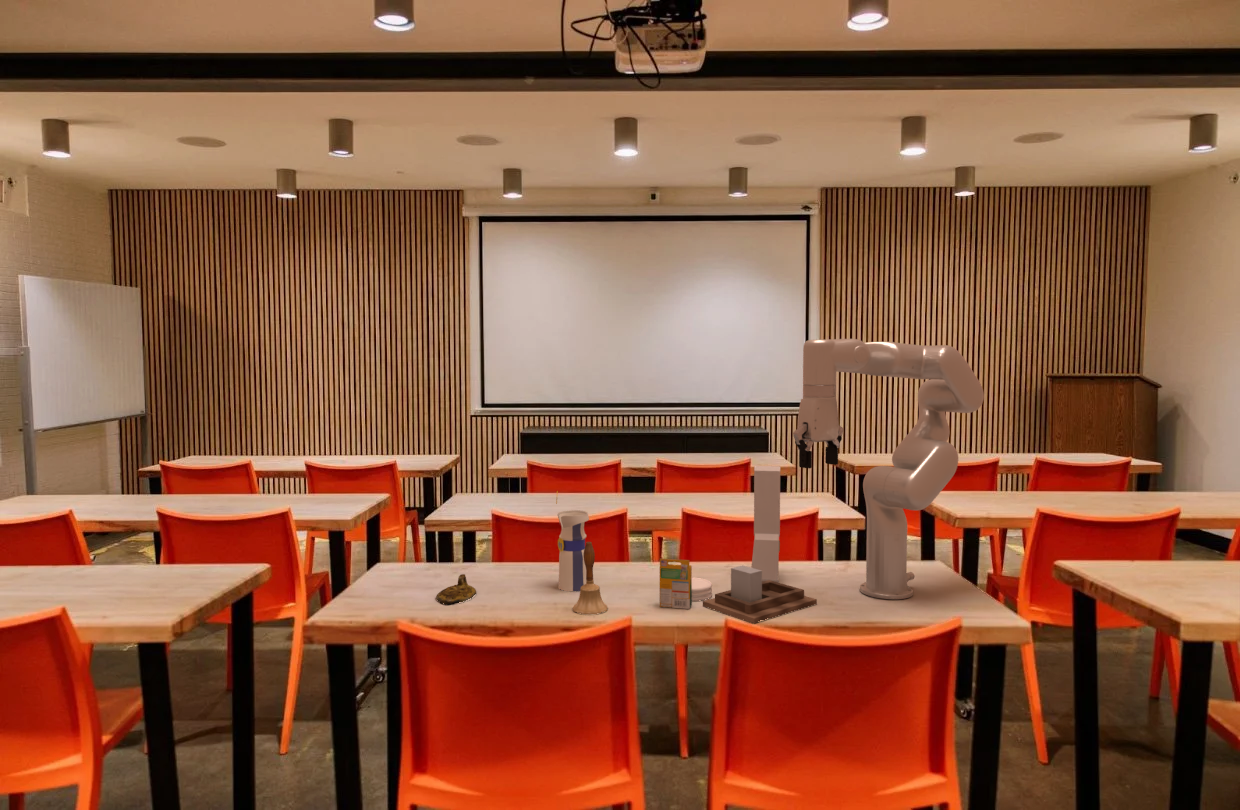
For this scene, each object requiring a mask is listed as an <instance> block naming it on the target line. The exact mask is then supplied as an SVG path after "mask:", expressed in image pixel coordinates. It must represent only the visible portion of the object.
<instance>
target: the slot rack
mask: <svg viewBox="0 0 1240 810" xmlns="http://www.w3.org/2000/svg"><path fill="white" fill-rule="evenodd" d="M814 604H816V605H818V603H817V598H813V597H810V596H806V595H805V589H802V588H799V587H795V586H792V585H789V584H786V583H781V582H779V581H778V582H775V581H771V580H767V581H763V582H762V599H760V600H757V601H753V602H750V603H749V602H746V601H743V600H740V599H737V598H734V597H731V589H730V590H725V591H721V592H717V593H714V598H709V599H707V600H703V601H702V607H704V606H705V607H704V608H707V607H709V608H711V609H710V610H712V609H715V610H717V611H716V612H718V611H720V612H719V613H721V612H722V614H725V615H727V614H728V616H730V615H731V617H732V618H733V617H734V618H735V619H736V618H737V619H739V620H742V621H745V622H748V623H750V622H751V623H750V624H753V623H755V624H758V623H759V622H758V621H760V620H764V621H766V620H765V619H767V618H771V619H773V618H772V617H774V618H776V617H775V616H777V617H779V616H778V615H780V616H783V615H782V614H784V615H786V614H785V613H787V614H789V613H788V612H790V613H792V612H791V611H793V612H795V611H794V610H797V611H799V610H798V609H800V610H802V609H801V608H803V609H805V608H804V607H806V608H809V607H812V606H811V605H813V606H815V605H814ZM808 606H809V607H808ZM709 608H708V609H709ZM715 610H714V611H715ZM743 619H744V620H743ZM757 622H758V623H757Z"/></svg>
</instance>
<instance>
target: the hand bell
mask: <svg viewBox="0 0 1240 810" xmlns="http://www.w3.org/2000/svg"><path fill="white" fill-rule="evenodd" d="M592 543H593V542H592V541H585V549H584V563H585V566H586V584H585V585H583V586H581V589H580V591H579V595H578V599H577V601H576V603H575V604H574V605H573V606H572V609H573V610H572V612H574V613H575V612H577V613H576V614H578V613H581V614H580V615H582V614H596V615H598V614H597V613H601V612H604V611H606V610H607V609H609V607H608V605H607V604H606V603H605V602H604V600H603V599H602V596H601V588H600V586H599V585H597V584H596V583H594V570H593V569H594V564H595V560H596V559H595V557H596V556H595V555H596V553H595V549H594V547H593V544H592ZM607 611H608V610H607ZM607 611H606V612H607ZM604 613H605V612H604ZM601 614H602V613H601Z"/></svg>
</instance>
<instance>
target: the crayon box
mask: <svg viewBox="0 0 1240 810" xmlns="http://www.w3.org/2000/svg"><path fill="white" fill-rule="evenodd" d="M674 562H675V563H680V564H673V563H674ZM669 563H670V564H669ZM671 563H672V564H671ZM692 567H693V566H692V565H691V564H690V559H676V558H673V559H672V558H659V608H671V607H672V608H671V609H673V608H674V609H686V610H690V609H691V607H692V606H693V601H692V577H693V576H692V574H693V573H692V569H693V568H692Z"/></svg>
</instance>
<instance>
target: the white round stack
mask: <svg viewBox="0 0 1240 810" xmlns="http://www.w3.org/2000/svg"><path fill="white" fill-rule="evenodd" d="M712 587H713V583H712V582H711V581H710V580H709V579H705V578H700V577H693V576H692V602H700V601H699V600H703V601H706V600H705V599H707V600H709V599H711V598H712V596H713V588H712ZM710 597H711V598H710ZM708 598H709V599H708Z"/></svg>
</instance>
